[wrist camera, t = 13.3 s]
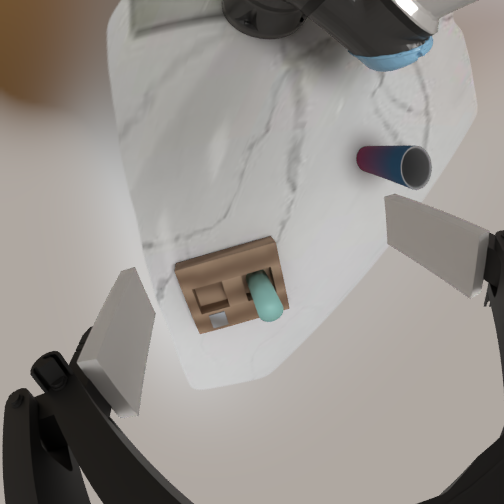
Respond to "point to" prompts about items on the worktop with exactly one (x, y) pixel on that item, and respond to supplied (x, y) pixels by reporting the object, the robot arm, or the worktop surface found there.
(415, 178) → the cup
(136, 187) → the worktop surface
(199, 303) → the socket board
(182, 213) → the worktop surface
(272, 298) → the plug
